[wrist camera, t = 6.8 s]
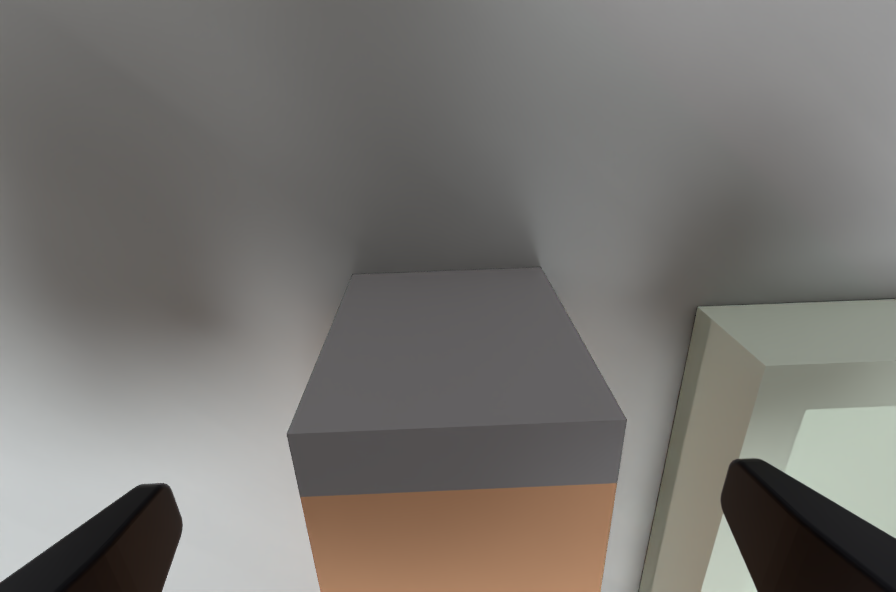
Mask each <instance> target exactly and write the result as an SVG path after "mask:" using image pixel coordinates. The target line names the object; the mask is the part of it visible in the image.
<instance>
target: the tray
mask: <svg viewBox="0 0 896 592" xmlns="http://www.w3.org/2000/svg"><path fill="white" fill-rule="evenodd" d="M745 458H758V459H762V460H764V461H766V462H767V463H769V464H771V465H772V466H774V467H776V468H778V469H779V470H781V471H783V472H784V473H786V474H788V475H789V476H791V477H793V478H794V479H796V480H798V481H800V482H801V483H803V484H805V485H806V486H808V487H810V488H811V489H813V490H815V491H816V492H818V493H820V494H822V495H823V496H825V497H827V498H828V499H830V500H832V501H833V502H835V503H837V504H838V505H840V506H842V507H844V508H845V509H847V510H849V511H850V512H852V513H854V514H855V515H857V516H859V517H860V518H862V519H864V520H865V521H867V522H869V523H871V524H872V525H874V526H876V527H877V528H879V529H881V530H882V531H884V532H886V533H887V534H889V535H891V536H893V537H894V538H896V299H884V300H858V301H832V302H807V303H781V304H755V305H729V306H703V307H698V308H697V313H696V317H695V322H694V327H693V332H692V337H691V342H690V347H689V351H688V356H687V361H686V366H685V371H684V376H683V380H682V385H681V390H680V395H679V400H678V405H677V410H676V414H675V419H674V424H673V429H672V434H671V439H670V443H669V448H668V453H667V458H666V463H665V468H664V473H663V477H662V482H661V487H660V492H659V497H658V502H657V506H656V511H655V516H654V521H653V526H652V531H651V535H650V540H649V545H648V550H647V555H646V560H645V565H644V569H643V574H642V579H641V584H640V589H639V592H757V590H756V587H755V585H754V583H753V580H752V578H751V576H750V573H749V571H748V569H747V567H746V564H745V562H744V560H743V557H742V555H741V553H740V550H739V548H738V546H737V544H736V541H735V539H734V537H733V534H732V532H731V530H730V527H729V525H728V523H727V521H726V518H725V516H724V514H723V511H722V507H721V502H720V498H721V492H722V489H723V485H724V481H725V478H726V474H727V471H728V467H729V464H730V463H731V462H732V461H733V460H735V459H745Z"/></svg>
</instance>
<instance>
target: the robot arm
mask: <svg viewBox="0 0 896 592" xmlns="http://www.w3.org/2000/svg"><path fill="white" fill-rule="evenodd" d="M720 502H721V507H722V511H723V514H724V516H725V518H726V521H727V523H728V525H729V527H730V530H731V532H732V534H733V537H734V539H735V541H736V544H737V546H738V548H739V550H740V553H741V555H742V557H743V560H744V562H745V564H746V567H747V569H748V571H749V573H750V576H751V578H752V580H753V583H754V585H755V587H756V590H757V592H896V538H894V537H893V536H891V535H889V534H887V533H886V532H884V531H882V530H881V529H879V528H877V527H876V526H874V525H872V524H871V523H869V522H867V521H865V520H864V519H862V518H860V517H859V516H857V515H855V514H854V513H852V512H850V511H849V510H847V509H845V508H844V507H842V506H840V505H838V504H837V503H835V502H833V501H832V500H830V499H828V498H827V497H825V496H823V495H822V494H820V493H818V492H816V491H815V490H813V489H811V488H810V487H808V486H806V485H805V484H803V483H801V482H800V481H798V480H796V479H794V478H793V477H791V476H789V475H788V474H786V473H784V472H783V471H781V470H779V469H778V468H776V467H774V466H772V465H771V464H769V463H767V462H766V461H764V460H762V459H758V458H745V459H735V460H733V461H732V462H731V463H730V464H729V467H728V471H727V474H726V478H725V481H724V485H723V489H722V492H721V498H720ZM182 526H183V524H182V517H181V515H180V512H179V509H178V506H177V504H176V501H175V498H174V495H173V492H172V490H171V488H170V487H169V486H168V485H167V484H164V483H155V484H142V485H139V486H136V487H135V488H133V489H132V490H130V491H129V492H128V493H126V494H125V495H123V496H122V497H121V498H119V499H118V500H116V501H115V502H113V503H112V504H111V505H109V506H108V507H106V508H105V509H104V510H102V511H101V512H99V513H98V514H96V515H95V516H94V517H92V518H91V519H89V520H88V521H87V522H85V523H84V524H82V525H81V526H80V527H78V528H77V529H75V530H74V531H72V532H71V533H70V534H68V535H67V536H65V537H64V538H63V539H61V540H60V541H58V542H57V543H55V544H54V545H53V546H51V547H50V548H48V549H47V550H46V551H44V552H43V553H41V554H40V555H39V556H37V557H36V558H34V559H33V560H31V561H30V562H29V563H27V564H26V565H24V566H23V567H22V568H20V569H19V570H17V571H16V572H14V573H13V574H12V575H10V576H9V577H7V578H6V579H5V580H3V581H2V582H0V592H162V590H163V587H164V584H165V581H166V578H167V575H168V572H169V569H170V566H171V564H172V561H173V558H174V555H175V552H176V549H177V546H178V543H179V540H180V537H181V534H182Z"/></svg>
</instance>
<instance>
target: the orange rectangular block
mask: <svg viewBox="0 0 896 592" xmlns="http://www.w3.org/2000/svg"><path fill="white" fill-rule="evenodd" d="M626 422H627V419H626V417H625V416H624V414H623V412H622V410H621V408H620V407H619V405H618V403H617V401H616V400H615V398H614V396H613V394H612V392H611V391H610V389H609V387H608V385H607V384H606V382H605V380H604V378H603V376H602V375H601V373H600V371H599V369H598V368H597V366H596V364H595V362H594V360H593V359H592V357H591V355H590V353H589V352H588V350H587V348H586V346H585V345H584V343H583V341H582V339H581V337H580V336H579V334H578V332H577V330H576V329H575V327H574V325H573V323H572V321H571V320H570V318H569V316H568V314H567V313H566V311H565V309H564V307H563V305H562V304H561V302H560V300H559V298H558V297H557V295H556V293H555V291H554V289H553V288H552V286H551V284H550V282H549V281H548V279H547V277H546V275H545V273H544V272H543V270H542V268H541V267H532V268H505V269H479V270H453V271H427V272H401V273H375V274H352V277H351V279H350V282H349V284H348V286H347V289H346V291H345V294H344V296H343V299H342V301H341V303H340V306H339V308H338V311H337V313H336V316H335V318H334V320H333V323H332V325H331V328H330V330H329V333H328V335H327V337H326V340H325V342H324V345H323V347H322V350H321V352H320V354H319V357H318V359H317V362H316V364H315V367H314V369H313V372H312V374H311V376H310V379H309V381H308V384H307V386H306V389H305V391H304V393H303V396H302V398H301V401H300V403H299V406H298V408H297V410H296V413H295V415H294V418H293V420H292V423H291V425H290V427H289V430H288V432H287V438H288V442H289V447H290V452H291V456H292V461H293V465H294V470H295V475H296V479H297V484H298V489H299V493H300V498H301V503H302V507H303V512H304V517H305V521H306V526H307V531H308V535H309V540H310V545H311V549H312V554H313V559H314V563H315V568H316V573H317V577H318V582H319V586H320V591H321V592H600V590H601V584H602V577H603V571H604V565H605V558H606V552H607V545H608V539H609V532H610V526H611V519H612V513H613V506H614V500H615V493H616V487H617V480H618V474H619V467H620V461H621V454H622V448H623V442H624V435H625V429H626Z"/></svg>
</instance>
